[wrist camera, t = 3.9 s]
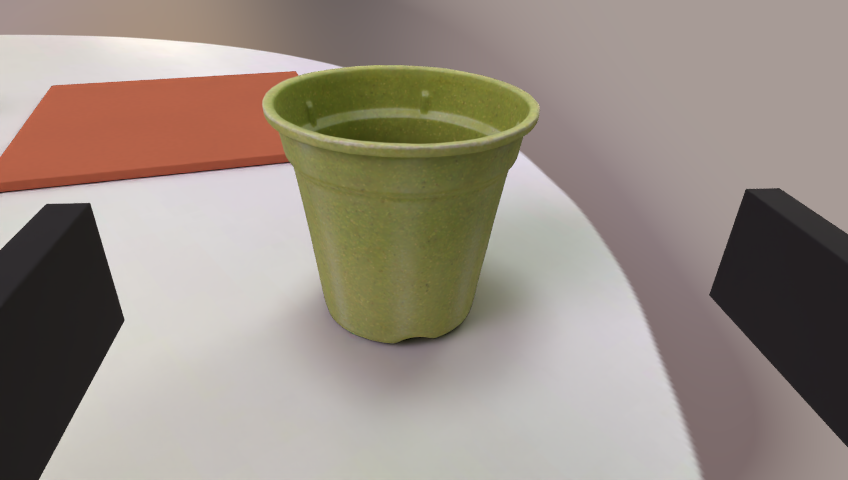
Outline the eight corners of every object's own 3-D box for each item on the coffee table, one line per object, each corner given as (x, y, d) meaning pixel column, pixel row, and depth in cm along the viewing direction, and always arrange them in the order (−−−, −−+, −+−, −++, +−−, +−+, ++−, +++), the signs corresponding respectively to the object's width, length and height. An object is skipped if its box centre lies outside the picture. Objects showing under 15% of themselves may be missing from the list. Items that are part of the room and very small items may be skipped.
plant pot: (369, 224, 30) (365, 52, 25) (543, 278, 26) (574, 87, 22) (236, 322, 23) (199, 106, 18) (448, 416, 19) (465, 172, 14)
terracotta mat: (296, 77, 54) (295, 71, 53) (342, 156, 38) (342, 148, 37) (53, 92, 48) (51, 85, 47) (-17, 194, 32) (-21, 184, 31)
